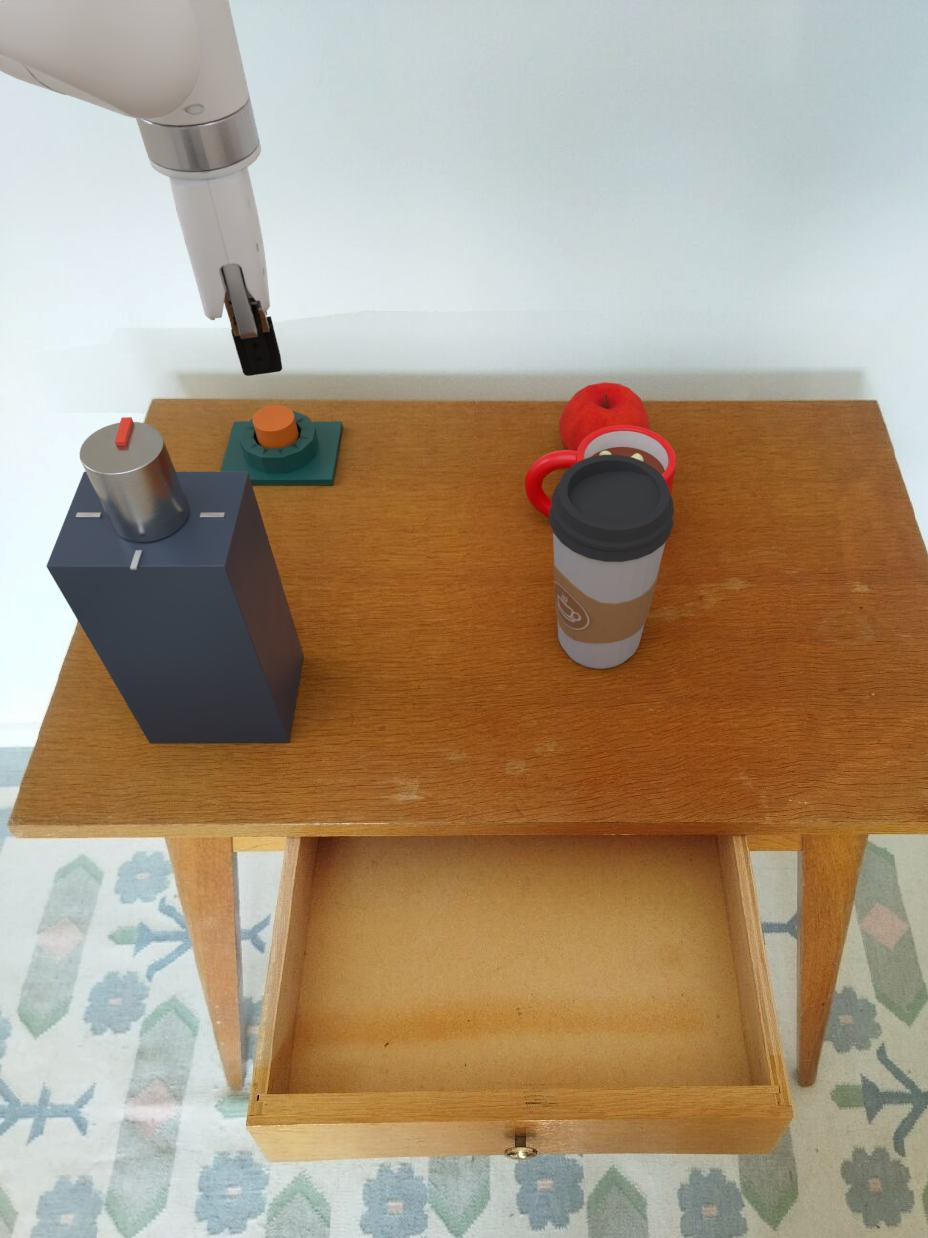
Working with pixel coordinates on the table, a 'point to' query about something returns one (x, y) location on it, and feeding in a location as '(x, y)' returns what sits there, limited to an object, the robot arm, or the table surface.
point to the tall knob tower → (187, 615)
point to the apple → (600, 412)
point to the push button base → (286, 454)
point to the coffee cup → (607, 555)
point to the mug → (603, 442)
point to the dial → (135, 480)
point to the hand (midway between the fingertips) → (262, 367)
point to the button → (275, 426)
